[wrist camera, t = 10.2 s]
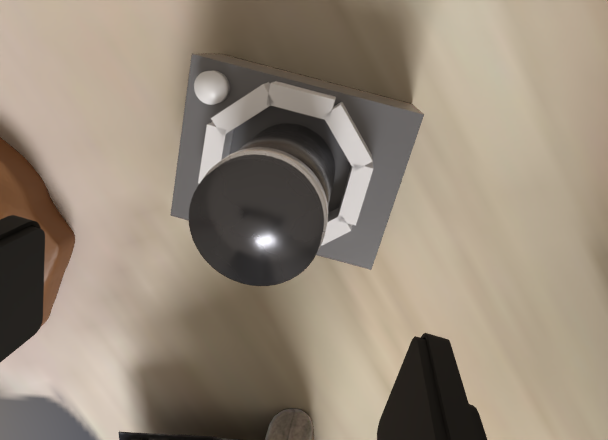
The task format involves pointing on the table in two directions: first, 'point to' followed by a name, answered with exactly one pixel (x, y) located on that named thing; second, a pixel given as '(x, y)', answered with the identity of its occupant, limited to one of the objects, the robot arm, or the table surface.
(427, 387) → the robot arm
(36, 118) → the table surface
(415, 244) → the table surface
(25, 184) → the plant
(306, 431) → the vintage camera
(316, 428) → the table surface
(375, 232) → the grey hollow block
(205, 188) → the lens
